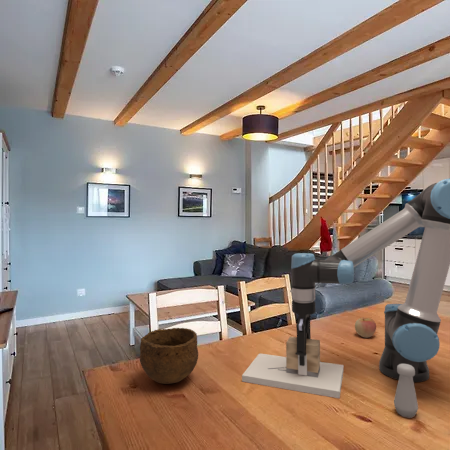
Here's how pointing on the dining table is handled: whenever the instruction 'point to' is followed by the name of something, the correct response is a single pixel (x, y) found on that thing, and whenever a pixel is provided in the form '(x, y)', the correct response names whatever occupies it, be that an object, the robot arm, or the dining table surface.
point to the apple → (365, 327)
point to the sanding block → (312, 356)
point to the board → (294, 376)
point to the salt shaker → (406, 392)
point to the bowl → (169, 354)
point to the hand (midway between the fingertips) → (304, 370)
